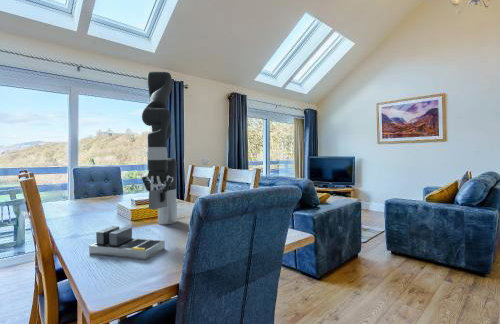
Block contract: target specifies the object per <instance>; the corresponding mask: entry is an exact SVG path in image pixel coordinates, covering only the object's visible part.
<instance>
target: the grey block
mask: <svg viewBox="0 0 500 324" xmlns="http://www.w3.org/2000/svg"><path fill="white" fill-rule="evenodd" d="M166 206H167V192H166V200H165V201H164V202H160V189H157V190H151V191H148V210H158V209H159V208H163V207H166Z"/></svg>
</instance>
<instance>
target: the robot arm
mask: <svg viewBox="0 0 500 324" xmlns="http://www.w3.org/2000/svg"><path fill="white" fill-rule="evenodd" d="M146 80H147V82H146V83H147V88H148V97H149V103H148V104H147V105H146V106H145V107H144V109H143V110H142V113H141V121H142V122H143V124H144V125H145V126H148V127H151V132H148V134H147V171H148V172H147V175H146V176H143V177H141V181H142V182H143V185H144V187H145V189H146V191H148V192H149V191H151V190H158V189H160V202H164V201H165V200H166V192H167V206H166V207H163V208H159V209H157V223H158V224H159V225H172V224H173V225H174V224H176V223H177V222H178V203H177V160H176V158H174V157H168V149H167V142H168V140H169V138H170V137H171V134H172V119H171V118H172V117H171V112H170V110H169V109H168V107H167V106H168V100H169V97H170V94H171V92H172V88H173V78H172V75H171V73H170V72H169V71H149V72H148V73H147V79H146Z"/></svg>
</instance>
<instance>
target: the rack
mask: <svg viewBox="0 0 500 324" xmlns="http://www.w3.org/2000/svg"><path fill="white" fill-rule="evenodd" d="M95 235H96V236H95V237H96V239H95V240H96V242H95V243H92V244H89V246H88V248H89V255H95V256H103V257H112V258H122V259H130V260H131V259H132V260H140V261H141V260H142V261H147V260H149V259H151V258H152V257H154V256H156V255H157V254H159V253H160V252H162V251H164V250H165V249H166V248H165V247H166V246H165V244H166V242H165V240H162V239H161V240H160V239H147V238H136V237H133V228H132V227H129V226H125V227H122V228H120V226H115V225H112V226H109V227H107V228H104V229H100V230H98V231H96V232H95Z"/></svg>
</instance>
